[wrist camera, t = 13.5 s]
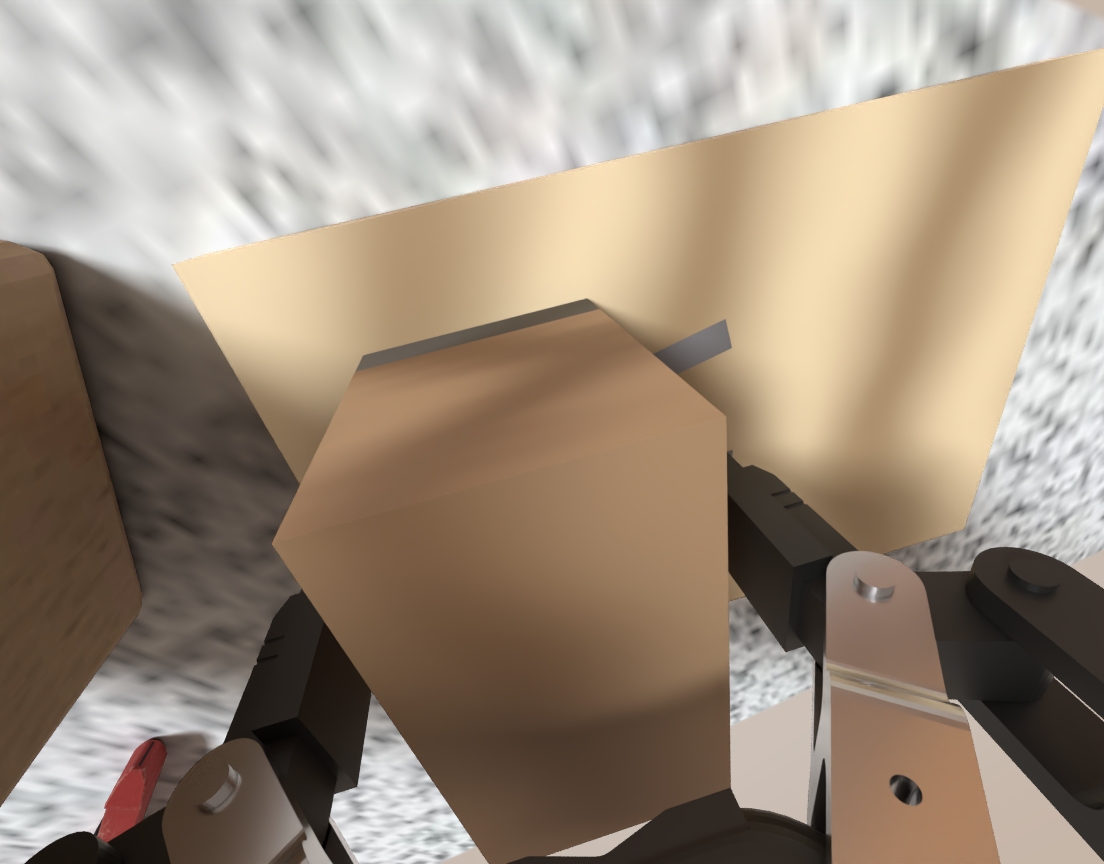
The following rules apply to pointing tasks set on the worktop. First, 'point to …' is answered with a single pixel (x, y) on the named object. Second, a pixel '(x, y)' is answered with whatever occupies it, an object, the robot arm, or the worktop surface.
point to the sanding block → (530, 572)
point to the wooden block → (50, 520)
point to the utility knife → (132, 790)
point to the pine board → (729, 285)
